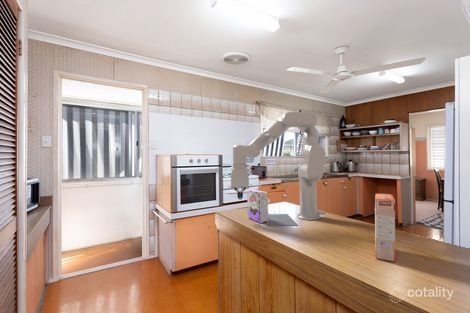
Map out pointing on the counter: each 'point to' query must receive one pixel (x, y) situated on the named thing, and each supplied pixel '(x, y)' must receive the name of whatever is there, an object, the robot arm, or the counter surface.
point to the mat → (280, 220)
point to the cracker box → (385, 227)
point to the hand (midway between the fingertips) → (240, 199)
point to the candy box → (257, 205)
